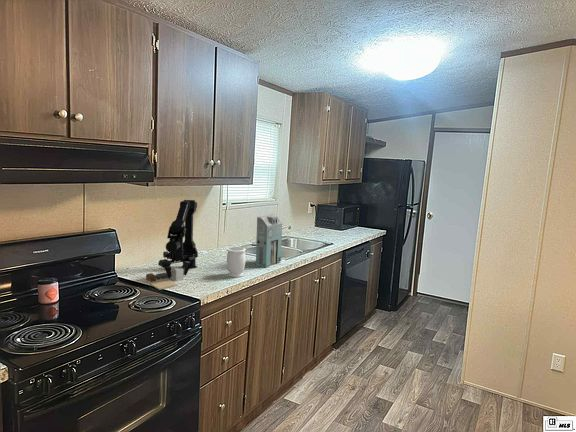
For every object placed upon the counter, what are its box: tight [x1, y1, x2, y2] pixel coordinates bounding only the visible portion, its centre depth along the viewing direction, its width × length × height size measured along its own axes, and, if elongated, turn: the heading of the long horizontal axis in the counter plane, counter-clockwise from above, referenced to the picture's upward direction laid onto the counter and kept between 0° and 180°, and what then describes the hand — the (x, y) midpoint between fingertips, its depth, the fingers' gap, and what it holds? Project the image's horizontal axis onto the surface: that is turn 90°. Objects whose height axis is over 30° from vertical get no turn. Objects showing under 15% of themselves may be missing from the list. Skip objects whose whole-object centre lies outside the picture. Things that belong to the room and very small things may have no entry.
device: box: [255, 213, 283, 269], centre depth 246 cm, size 16×8×30 cm, turn 148°
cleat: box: [145, 272, 157, 282], centre depth 208 cm, size 3×5×3 cm, turn 44°
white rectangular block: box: [171, 266, 184, 282], centre depth 211 cm, size 4×5×6 cm
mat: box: [147, 278, 179, 291], centre depth 202 cm, size 10×12×1 cm
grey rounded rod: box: [155, 268, 185, 280], centre depth 216 cm, size 18×3×3 cm, turn 135°
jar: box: [226, 246, 247, 278], centre depth 222 cm, size 11×10×15 cm
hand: (177, 276), depth 211 cm, fingers open, 9 cm apart
